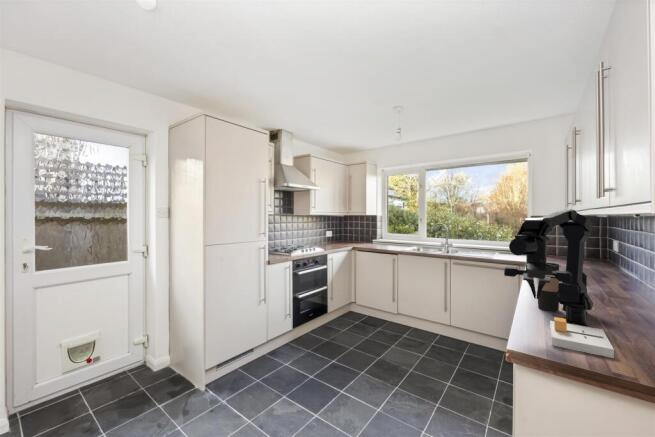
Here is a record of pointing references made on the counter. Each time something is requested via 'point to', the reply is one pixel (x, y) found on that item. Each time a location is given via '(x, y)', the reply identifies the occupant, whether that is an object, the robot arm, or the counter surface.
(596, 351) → the fader console
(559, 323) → the fader knob
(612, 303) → the counter surface
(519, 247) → the robot arm
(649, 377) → the counter surface
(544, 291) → the travel mug
